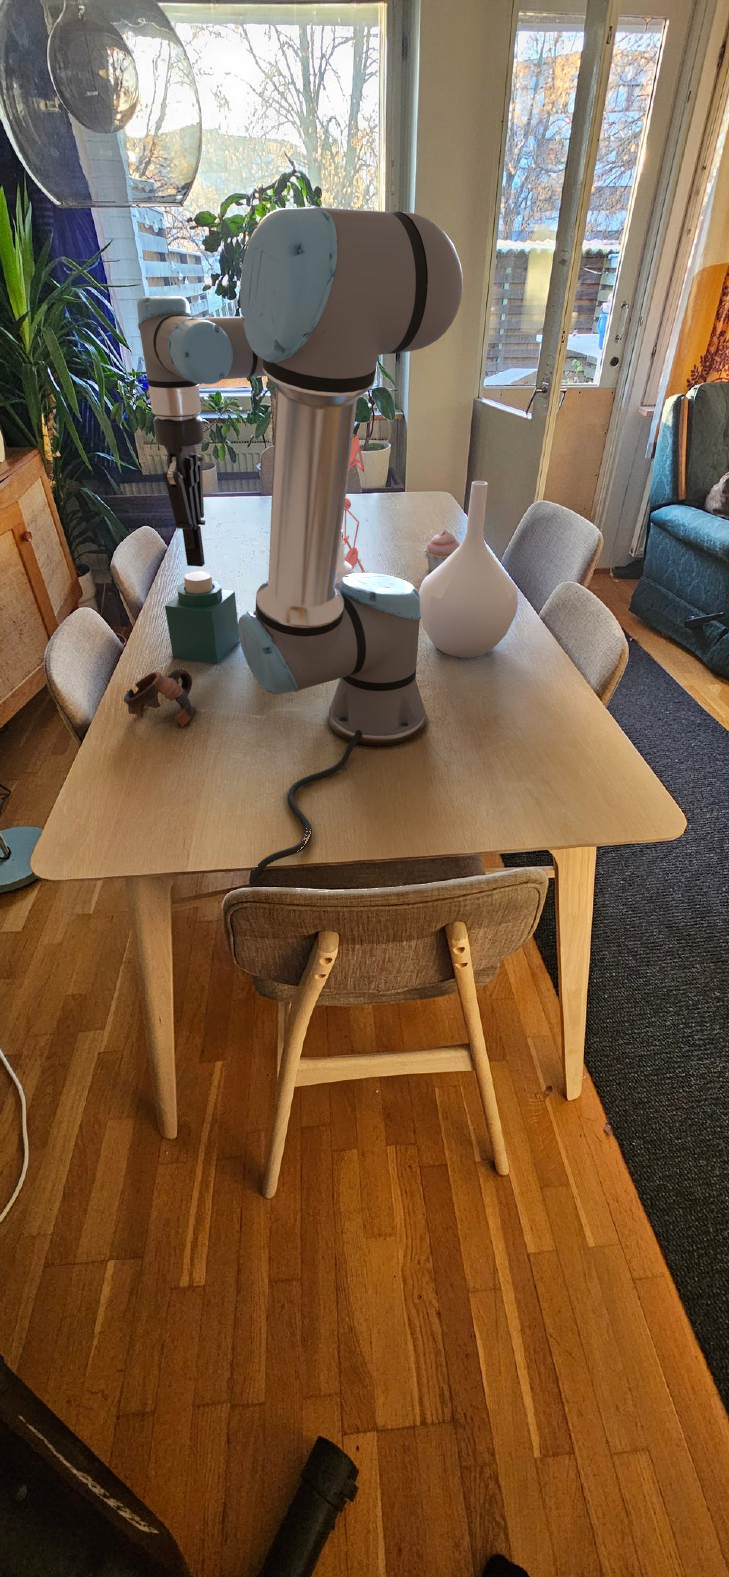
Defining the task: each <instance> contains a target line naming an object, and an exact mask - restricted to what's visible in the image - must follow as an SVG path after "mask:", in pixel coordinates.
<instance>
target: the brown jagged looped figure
mask: <svg viewBox="0 0 729 1577" xmlns="http://www.w3.org/2000/svg"><path fill="white" fill-rule="evenodd" d="M179 681H181V685H180V683H179ZM134 685H135V687H136V688H137V690H136V691H135V692H134V690H133V688H130V689H129V690H128V691H127V692H126V694H125V695H124V697H123V702H124V704H126V705H127V710H128V714H130V715H137V716H138V717H141V718H142V717H143V710H144V709H145V707H148V708H152V709H157V708H160V707H161V703H160V702H159V694H161V695H163V696H164V697H165V699H166V700H169V701H175V702H176V703H177V704H178V705H179V706H180V709H179V711H178V712H177V713H176V714H175V715H174V719H175V720H176V721H177V722H178V723H179V725H180V727H185V725H187V723H189V721H190V720H191V719H192V718H193V715H194V714H195V713H194V709H193V707H192V704H191V701H190V699H189V694H190V693H191V690H192V686H193V678H192V676H191V674H190V673H189V671H188V670H187V669H185V668H176V669H174V670H172V671H171V672H170V673H169V674H168V675H166V676H164V675H163V673H161V672H160V671H154V672H150V673H149V674H147V675H146V676H144V677H142V678H141V679H140V680H138V681H137V682H136V683H135V684H134Z"/></svg>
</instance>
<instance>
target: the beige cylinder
mask: <svg viewBox="0 0 729 1577" xmlns="http://www.w3.org/2000/svg"><path fill="white" fill-rule="evenodd" d="M183 581H184V583H185V588H186V592H188V593H205V592H209V591H212V590H213V585H212V581H213V577H212V574H211V572H208V571H204V570H195V571H190V572H187V573H186V574H184V575H183Z"/></svg>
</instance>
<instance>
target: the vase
mask: <svg viewBox="0 0 729 1577" xmlns="http://www.w3.org/2000/svg"><path fill="white" fill-rule="evenodd" d="M488 485H489V484H488V482H487V481H484V480H474V481H472V482H471V488H470V494H469V501H468V502H469V503H468V511H467V520H466V530H465V535H464V537H463V540H462V541H461V542H460V543H459V545H460V546H459V547H458V548H457V549H456V550H455V551H454V552H453V553H452V554H451V555H450V556H449V557H448V558H447V559H446V560H445V561H444V562H443V563H442V564H441V565H440V566H438V567H437V568H436V569H435V570H434V571H433V572H431V573H430V572H429V574H428V575H426V576H425V577H424V579H423V580H422V581H421V584H420V588H419V590H418V593H419V595H420V614H421V619H420V622H421V624H422V628H423V630H424V631H425V633H426V635H427V637H428V638H429V640H430V641H431V643H432V644H433V645H434V646H435V647H436V648H437V649H438V650H440V651H441V652H442V653H444V654H446V655H449V656H452V657H459V658H476V657H479V656H483V655H485V654H487V653H488V652H490V651H492V650H493V649H494V648H495V647H497V645H499V643H500V642H501V641H502V640H503V639H504V638H505V637H506V635H507V633H508V631H509V629H510V627H511V625H512V623H513V622H514V619H515V618H516V615H517V611H518V606H519V596H518V595H519V594H518V588H517V584H515V582H514V581H513V580H512V579H511V578H510V576H509V575H508V574H507V573H506V572H505V570H504V569H503V567H501V565H500V564H499V562H498V561H497V560H496V559H495V557H494V555H493V554H492V553H491V551H490V550H489V549H488V547H487V544H486V541H485V538H484V528H485V519H486V508H487V496H488Z"/></svg>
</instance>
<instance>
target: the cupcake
mask: <svg viewBox="0 0 729 1577" xmlns="http://www.w3.org/2000/svg"><path fill="white" fill-rule="evenodd" d="M459 546H460V543H459V541H458V540H457V539H456V537H455V535H454V534H453V533H452V532H451V531H449V530H446V529H443V530H442V531H441V532H440V533H438V534H435V535H434V536H433V537H432V539H430V541H429V542H428V543H427V544H426V548H425V549H423V552H424V555H425V558H426V560H427V561H426V562H427V567H428V571H429V574H430V573H431V572H433V571H434V570H435V569H436V568H437V567H438V566H440V565H441V564H442V563H443V562H444V561H445V560H446V559H447V558H448V557H449V556H450V555H451V554H452V553H453V552H454V551H455V550H456V549H457V548H458V547H459Z"/></svg>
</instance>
